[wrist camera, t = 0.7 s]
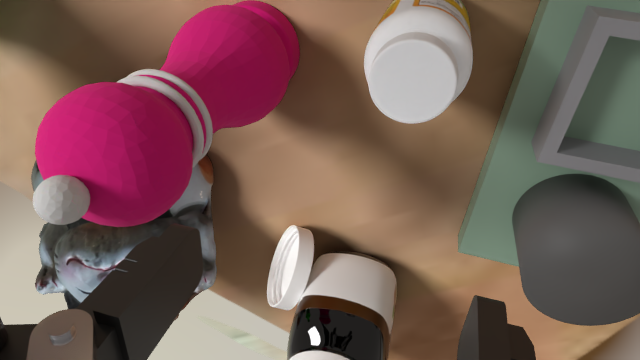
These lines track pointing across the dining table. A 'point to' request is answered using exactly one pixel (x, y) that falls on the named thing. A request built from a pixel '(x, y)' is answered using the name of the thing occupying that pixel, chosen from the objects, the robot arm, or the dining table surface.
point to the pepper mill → (161, 118)
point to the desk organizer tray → (568, 166)
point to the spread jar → (332, 300)
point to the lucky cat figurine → (120, 241)
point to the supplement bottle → (419, 58)
